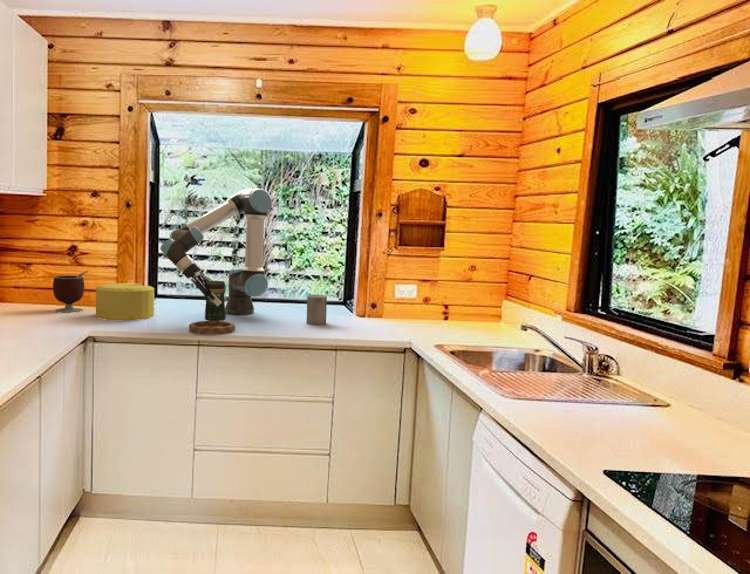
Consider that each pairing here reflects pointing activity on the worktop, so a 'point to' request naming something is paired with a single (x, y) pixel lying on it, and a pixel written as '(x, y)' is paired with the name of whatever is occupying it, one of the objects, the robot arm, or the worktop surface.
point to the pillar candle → (316, 309)
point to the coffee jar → (211, 308)
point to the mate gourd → (68, 291)
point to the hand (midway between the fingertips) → (222, 303)
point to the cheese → (124, 301)
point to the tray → (212, 327)
